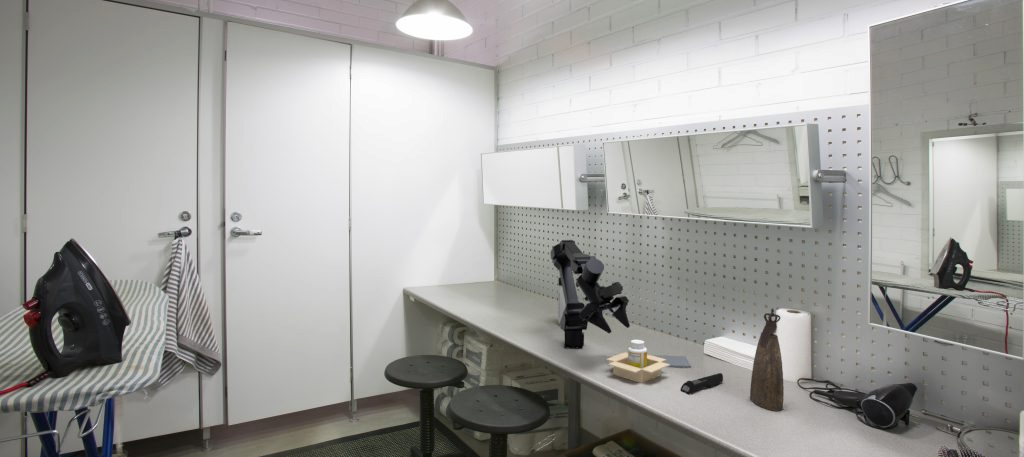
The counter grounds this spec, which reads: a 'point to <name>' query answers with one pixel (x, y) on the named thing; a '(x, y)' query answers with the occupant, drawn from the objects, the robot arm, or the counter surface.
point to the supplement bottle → (637, 354)
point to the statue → (768, 368)
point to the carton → (637, 373)
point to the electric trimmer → (701, 383)
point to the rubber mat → (675, 361)
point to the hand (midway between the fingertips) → (619, 329)
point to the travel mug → (560, 301)
